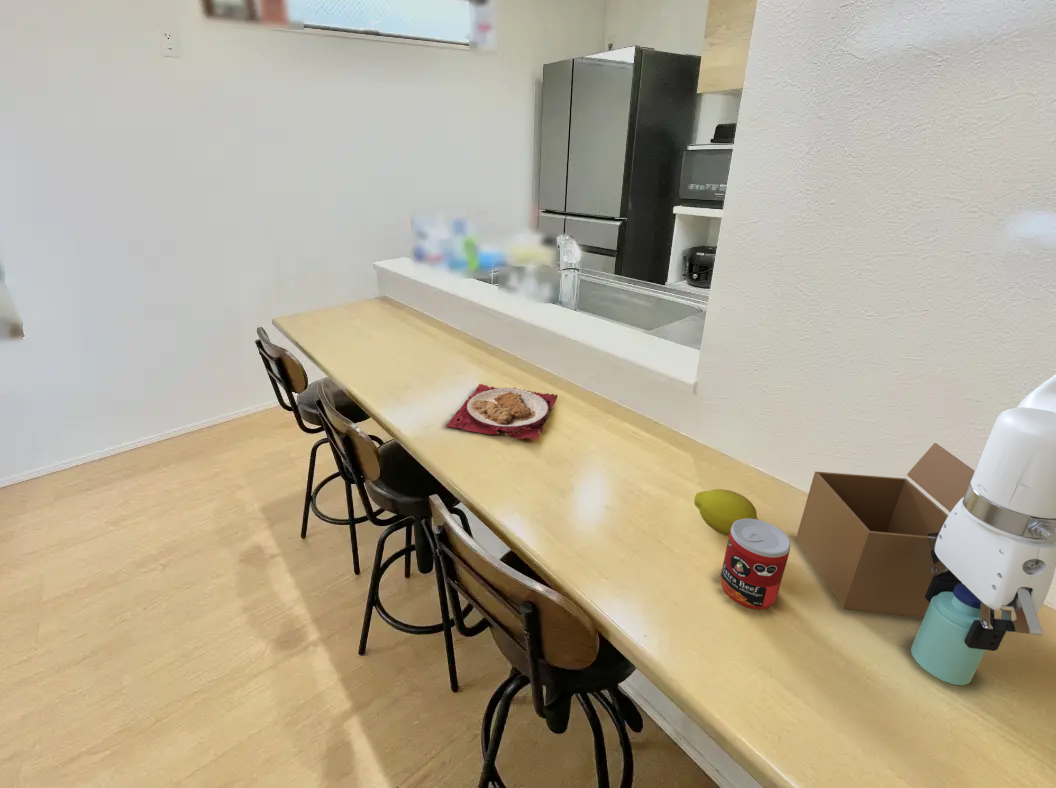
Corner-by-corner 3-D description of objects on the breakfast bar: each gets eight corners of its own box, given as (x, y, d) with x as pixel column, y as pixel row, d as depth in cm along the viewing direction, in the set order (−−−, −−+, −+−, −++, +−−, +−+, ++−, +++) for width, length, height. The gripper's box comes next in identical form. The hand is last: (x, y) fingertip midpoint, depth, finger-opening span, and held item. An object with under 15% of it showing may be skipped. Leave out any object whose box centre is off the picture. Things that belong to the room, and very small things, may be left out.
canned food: (708, 583, 80) (720, 528, 76) (739, 564, 83) (752, 511, 79) (754, 619, 73) (770, 561, 70) (786, 598, 77) (802, 541, 73)
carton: (881, 547, 87) (905, 478, 82) (945, 620, 73) (980, 542, 68) (795, 538, 89) (814, 471, 84) (842, 608, 75) (868, 532, 70)
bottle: (948, 646, 69) (979, 577, 65) (984, 688, 63) (1020, 616, 59) (900, 640, 70) (927, 572, 66) (931, 682, 64) (963, 610, 60)
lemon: (762, 535, 90) (771, 498, 87) (746, 556, 85) (755, 519, 82) (702, 506, 97) (709, 471, 95) (684, 524, 92) (690, 488, 90)
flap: (906, 474, 81) (908, 475, 81) (980, 538, 68) (983, 539, 68) (934, 442, 79) (936, 443, 79) (1017, 501, 65) (1020, 502, 65)
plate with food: (557, 401, 141) (558, 389, 140) (536, 444, 118) (536, 431, 117) (479, 388, 149) (479, 378, 148) (445, 426, 127) (445, 414, 126)
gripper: (1128, 570, 50) (1056, 694, 56) (984, 470, 66) (940, 574, 72) (1041, 562, 51) (980, 684, 57) (920, 465, 67) (883, 569, 73)
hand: (958, 622), depth 64 cm, fingers closed on bottle, 6 cm apart
